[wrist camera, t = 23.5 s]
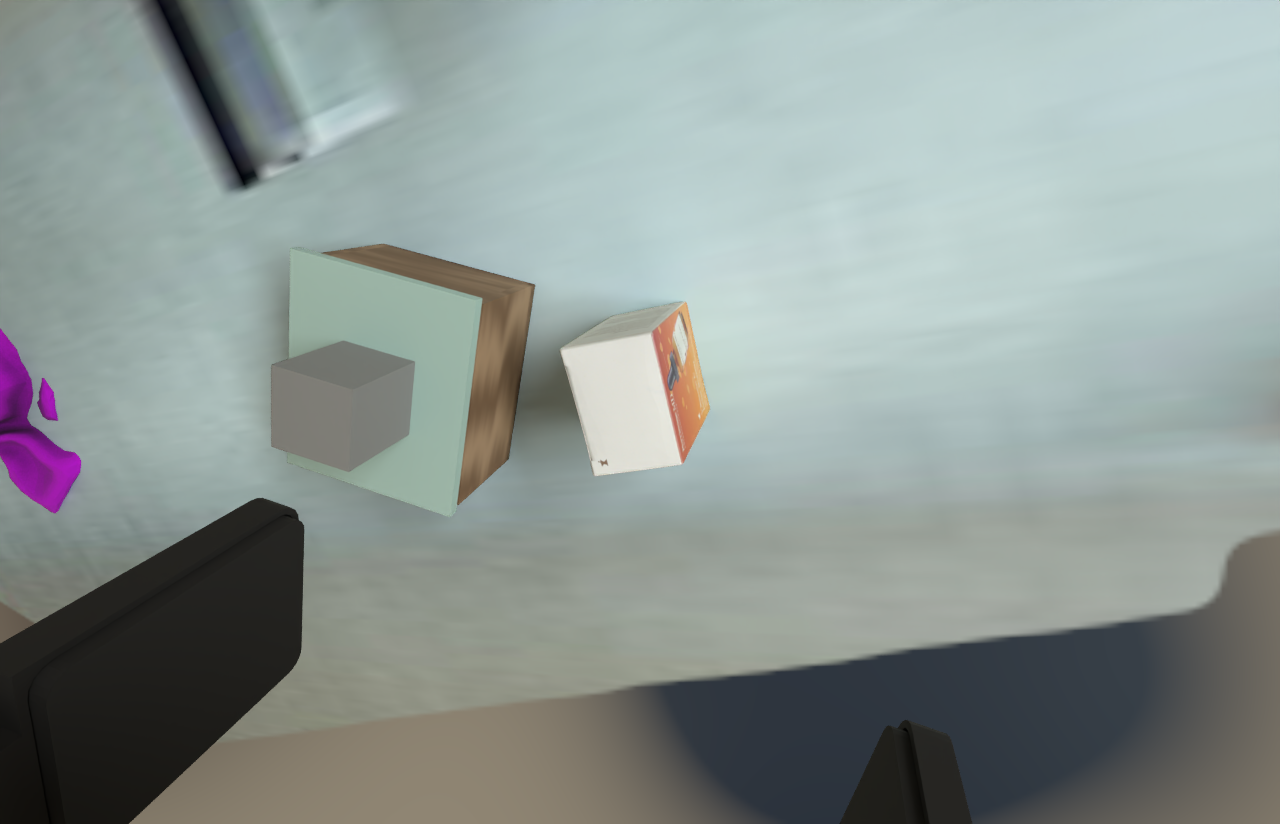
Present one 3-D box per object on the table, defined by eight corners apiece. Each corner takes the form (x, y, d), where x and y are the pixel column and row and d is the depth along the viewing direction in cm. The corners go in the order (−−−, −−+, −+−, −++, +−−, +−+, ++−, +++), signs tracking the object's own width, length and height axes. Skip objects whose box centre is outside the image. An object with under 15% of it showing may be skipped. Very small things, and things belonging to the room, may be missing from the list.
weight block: (343, 340, 41) (271, 364, 36) (415, 361, 41) (352, 389, 35) (340, 413, 43) (271, 446, 38) (409, 434, 42) (348, 472, 37)
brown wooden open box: (383, 243, 49) (307, 254, 41) (534, 284, 47) (483, 304, 39) (372, 416, 54) (302, 453, 46) (508, 459, 52) (458, 504, 45)
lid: (299, 247, 41) (290, 248, 40) (482, 298, 39) (476, 300, 38) (295, 458, 46) (287, 462, 46) (456, 511, 44) (450, 517, 44)
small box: (711, 409, 47) (685, 469, 37) (636, 421, 48) (592, 481, 39) (687, 298, 44) (653, 330, 35) (610, 313, 46) (556, 348, 36)
